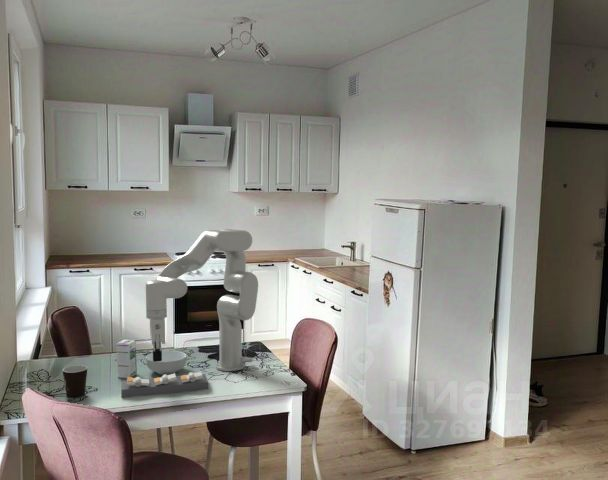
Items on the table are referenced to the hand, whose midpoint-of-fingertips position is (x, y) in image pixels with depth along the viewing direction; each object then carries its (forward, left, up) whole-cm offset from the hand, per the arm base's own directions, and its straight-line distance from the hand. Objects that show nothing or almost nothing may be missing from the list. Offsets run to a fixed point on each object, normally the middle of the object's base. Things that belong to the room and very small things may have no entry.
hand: (157, 360), depth 216 cm
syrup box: (+11, -22, -12) cm, 27 cm away
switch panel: (-3, -2, -12) cm, 12 cm away
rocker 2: (-13, 0, -9) cm, 16 cm away
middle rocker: (-3, 0, -9) cm, 9 cm away
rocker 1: (+7, 0, -9) cm, 11 cm away
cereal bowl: (-5, -23, -12) cm, 26 cm away
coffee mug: (+29, -6, -12) cm, 32 cm away
